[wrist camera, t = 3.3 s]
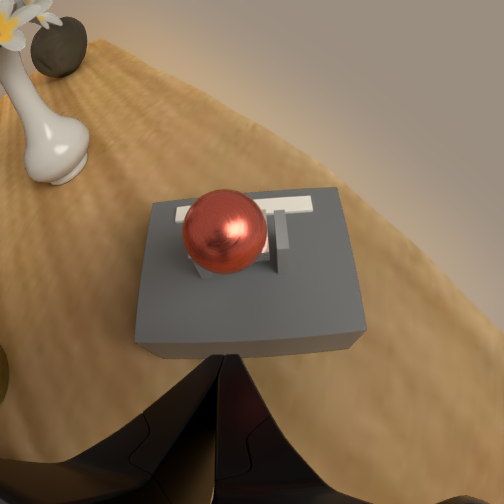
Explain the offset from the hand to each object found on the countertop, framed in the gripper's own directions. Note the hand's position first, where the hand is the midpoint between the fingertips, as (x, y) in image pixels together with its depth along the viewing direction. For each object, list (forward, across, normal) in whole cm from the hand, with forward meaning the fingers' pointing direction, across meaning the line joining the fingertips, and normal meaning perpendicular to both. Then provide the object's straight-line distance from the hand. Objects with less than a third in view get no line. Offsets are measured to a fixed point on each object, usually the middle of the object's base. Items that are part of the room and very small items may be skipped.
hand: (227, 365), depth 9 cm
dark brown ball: (+53, +41, -36) cm, 76 cm away
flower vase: (+26, +22, -9) cm, 35 cm away
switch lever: (+9, 0, -1) cm, 9 cm away
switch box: (+14, 0, +3) cm, 14 cm away
